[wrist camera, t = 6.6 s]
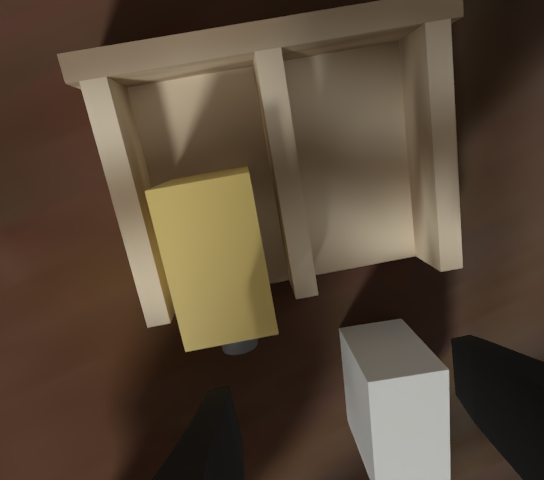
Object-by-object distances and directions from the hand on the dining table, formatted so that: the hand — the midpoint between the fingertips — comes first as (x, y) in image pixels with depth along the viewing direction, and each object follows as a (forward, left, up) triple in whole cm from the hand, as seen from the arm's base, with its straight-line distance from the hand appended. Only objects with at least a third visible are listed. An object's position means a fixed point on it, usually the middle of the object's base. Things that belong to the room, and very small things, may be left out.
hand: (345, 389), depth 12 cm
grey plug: (-6, -3, -8) cm, 11 cm away
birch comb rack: (+7, 0, -8) cm, 11 cm away
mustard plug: (+4, +3, -8) cm, 9 cm away
